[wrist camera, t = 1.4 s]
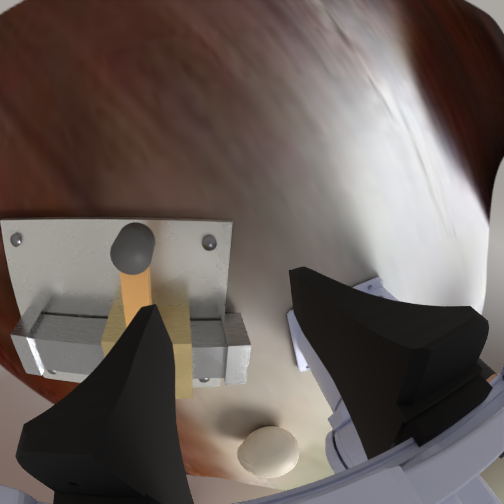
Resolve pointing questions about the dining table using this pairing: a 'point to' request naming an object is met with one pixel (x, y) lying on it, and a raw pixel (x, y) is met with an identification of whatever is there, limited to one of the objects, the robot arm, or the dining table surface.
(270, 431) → the baseball
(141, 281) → the lever
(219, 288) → the mounting plate
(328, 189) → the dining table surface
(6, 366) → the dining table surface
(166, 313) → the pipe valve
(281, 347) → the dining table surface
